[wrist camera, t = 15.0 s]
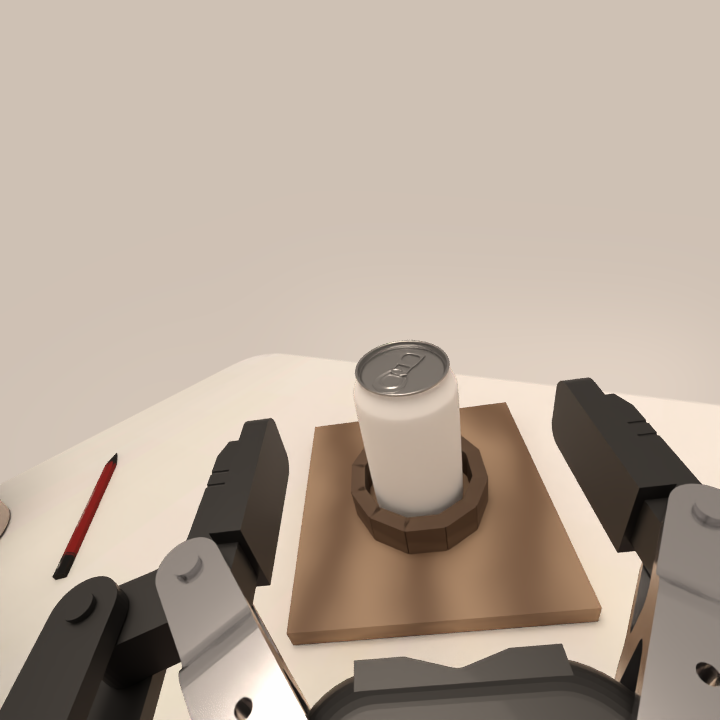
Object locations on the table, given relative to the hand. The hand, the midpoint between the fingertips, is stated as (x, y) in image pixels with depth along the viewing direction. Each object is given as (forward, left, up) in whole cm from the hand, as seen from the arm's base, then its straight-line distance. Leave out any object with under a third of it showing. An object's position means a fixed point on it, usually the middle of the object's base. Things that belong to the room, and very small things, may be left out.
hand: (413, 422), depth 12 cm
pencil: (-30, +16, -20) cm, 39 cm away
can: (0, +12, -18) cm, 21 cm away
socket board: (0, +12, -19) cm, 22 cm away
